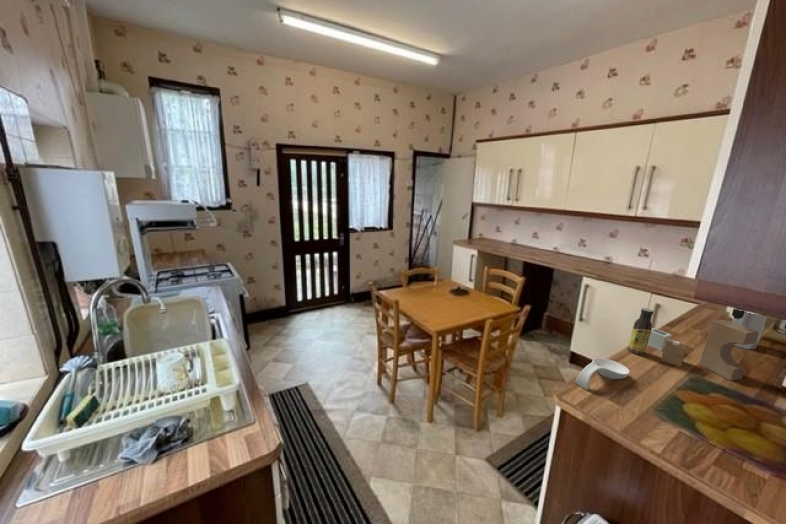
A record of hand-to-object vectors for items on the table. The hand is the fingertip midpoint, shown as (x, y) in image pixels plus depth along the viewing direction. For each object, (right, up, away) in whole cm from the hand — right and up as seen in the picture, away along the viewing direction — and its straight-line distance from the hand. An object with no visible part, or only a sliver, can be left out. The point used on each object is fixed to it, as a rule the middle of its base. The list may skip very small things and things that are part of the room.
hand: (736, 318), depth 116 cm
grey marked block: (-10, -17, +25) cm, 31 cm away
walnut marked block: (-13, -20, +13) cm, 27 cm away
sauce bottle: (-22, -18, +20) cm, 35 cm away
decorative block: (0, -23, +6) cm, 23 cm away
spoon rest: (-50, -23, +1) cm, 55 cm away
